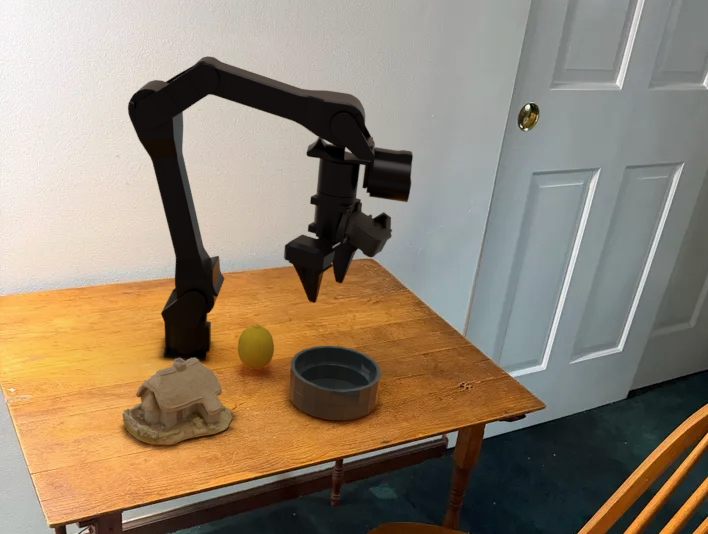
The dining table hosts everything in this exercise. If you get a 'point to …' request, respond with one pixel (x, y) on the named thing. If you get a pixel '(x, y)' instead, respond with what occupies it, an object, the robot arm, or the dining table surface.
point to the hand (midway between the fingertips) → (326, 291)
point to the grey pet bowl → (334, 382)
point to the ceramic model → (178, 405)
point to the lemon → (255, 347)
